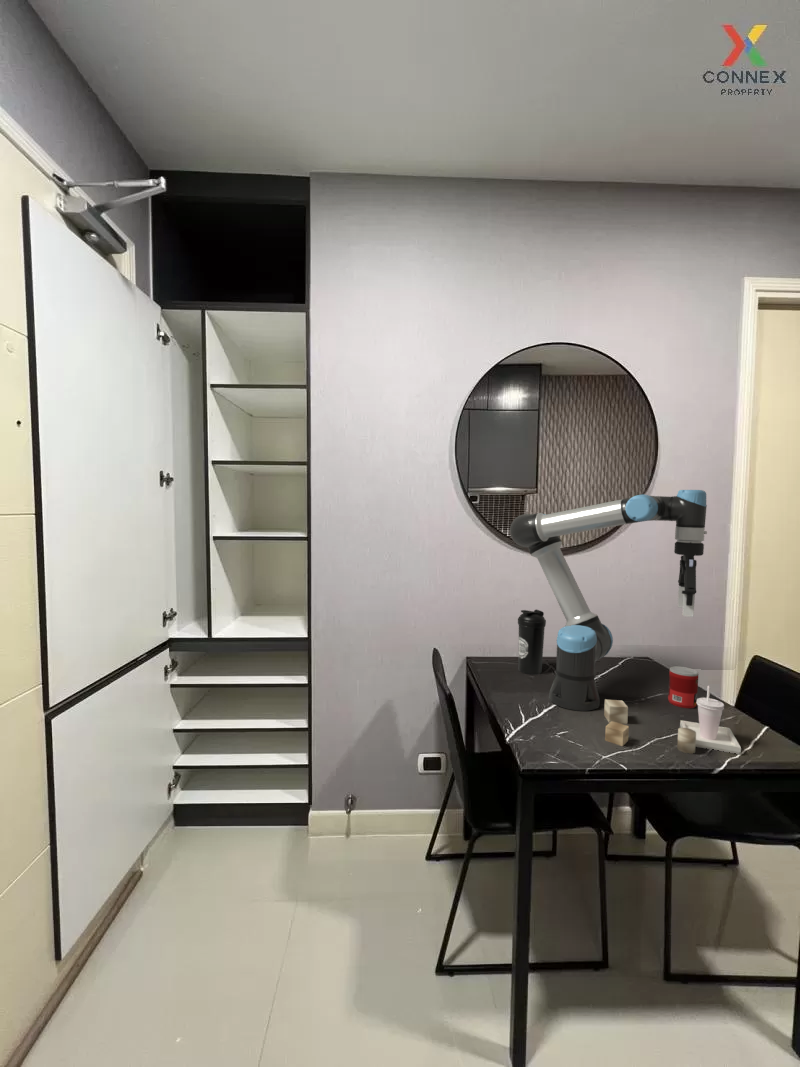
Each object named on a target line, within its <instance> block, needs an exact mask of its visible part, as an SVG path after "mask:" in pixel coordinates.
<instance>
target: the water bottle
mask: <svg viewBox="0 0 800 1067" xmlns="http://www.w3.org/2000/svg"><path fill="white" fill-rule="evenodd" d="M520 613H521V614H520V615H519V617H518V618H517V624H518V671H519V672H520V673H522V674H526V675H532V676H533V675H540V674H542V670H543V669H542V668H543V655H544V645H545V644H544V642H545V640H544V639H545V627H546V624H547V621H546V618H545V616H544V614H545V613H544V612H543V611H542V610H539V609H534V610H526V609H522V610H520Z"/></svg>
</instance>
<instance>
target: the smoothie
mask: <svg viewBox="0 0 800 1067" xmlns="http://www.w3.org/2000/svg"><path fill="white" fill-rule="evenodd" d="M706 688H707V690H706V691H707V692H706V697H697V702H696V703H697V705H696V706H697V713H698V714H697V715H698V723H699V726H700V736H701V737H703V738H705V739H708V740H716V738H717V733H718V728H719V727H720V722H721V720H722V718H721V717H722V714H723V710H725V703H723V702H722V701H720V700H717V699H715V698H710V694H711V693H710V692H711V691H710V690H711V685H707V687H706Z"/></svg>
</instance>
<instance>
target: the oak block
mask: <svg viewBox="0 0 800 1067" xmlns="http://www.w3.org/2000/svg"><path fill="white" fill-rule="evenodd" d="M629 728H630V726H629V725H627V724H620V723H616V722H613V721H611V722H610V723H609V722H608V724H607V725H605V734H604V735H605V736H604V741H606V742H609V743H611V744H613V745H617V746H621V747H624V745H626V744H627V742H628V741H629V733H630V732H629V730H630V729H629Z"/></svg>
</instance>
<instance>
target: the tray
mask: <svg viewBox="0 0 800 1067" xmlns="http://www.w3.org/2000/svg"><path fill="white" fill-rule="evenodd" d="M679 721H680V722H679V728H689V729H692V730H694V731H695V732H696V745H695V748H696V747H697V748H703V749H706V748H707V750H712V749H714V750H713V751H717V750H719V751H720V752H723V751H724V752H723V753H729V752H730V754H734V753H736V754H735V755H740V754H741V751H742V748H741V745H740V743H739V741H738V740H737V738H736V737H735V735H734V733H733V732H732V730H731V728H730V727H726V726H724V727H723V726H719V728H718V733H717V738H716V740H708V739H705V738H703V737H701V736H700V726H699V722H696V721H695V722H694V721H687V720H683V719H682V720H681V719H680V720H679ZM719 751H718V752H719Z"/></svg>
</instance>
